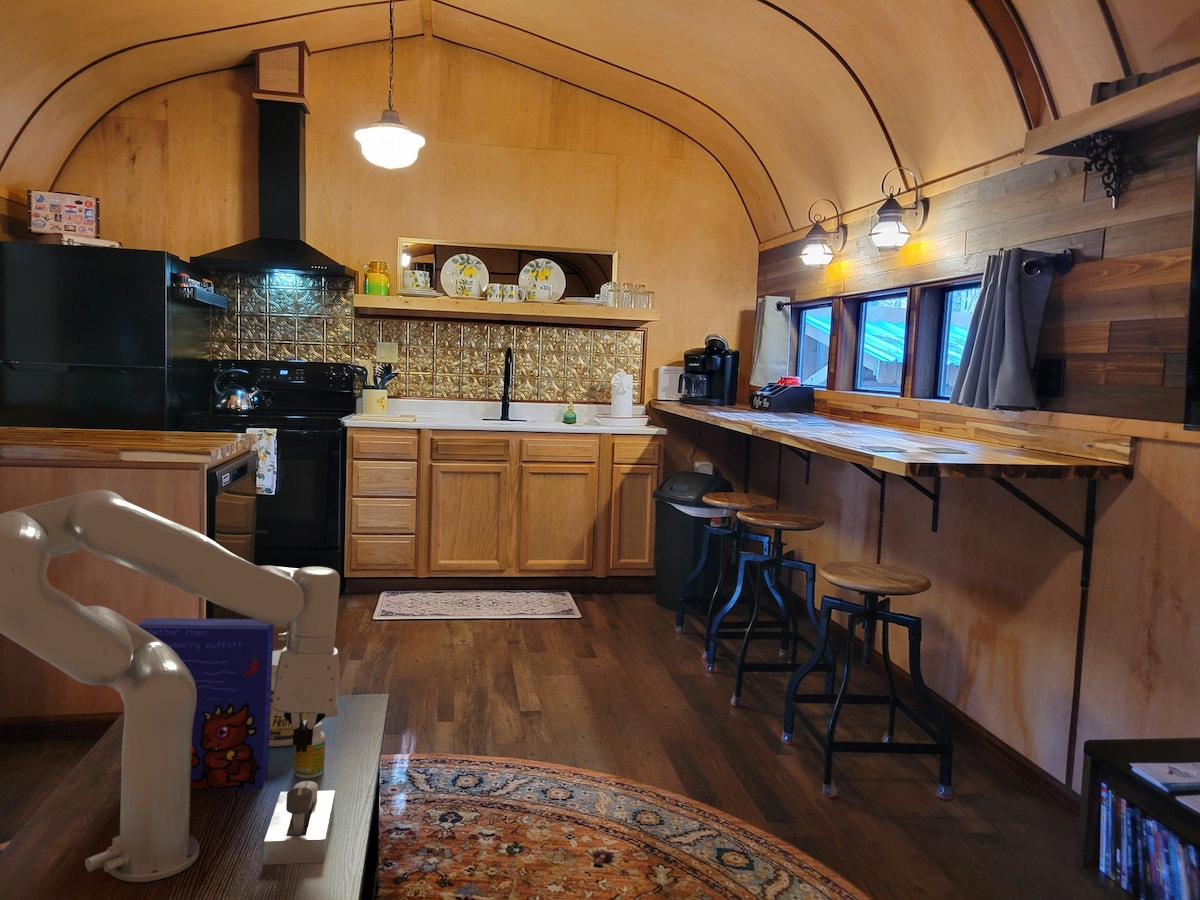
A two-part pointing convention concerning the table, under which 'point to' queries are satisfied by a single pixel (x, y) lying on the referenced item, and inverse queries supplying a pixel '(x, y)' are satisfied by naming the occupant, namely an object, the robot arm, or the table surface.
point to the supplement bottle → (311, 755)
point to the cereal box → (225, 696)
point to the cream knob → (313, 788)
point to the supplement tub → (280, 726)
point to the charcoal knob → (298, 806)
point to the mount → (299, 848)
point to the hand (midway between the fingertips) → (302, 748)
